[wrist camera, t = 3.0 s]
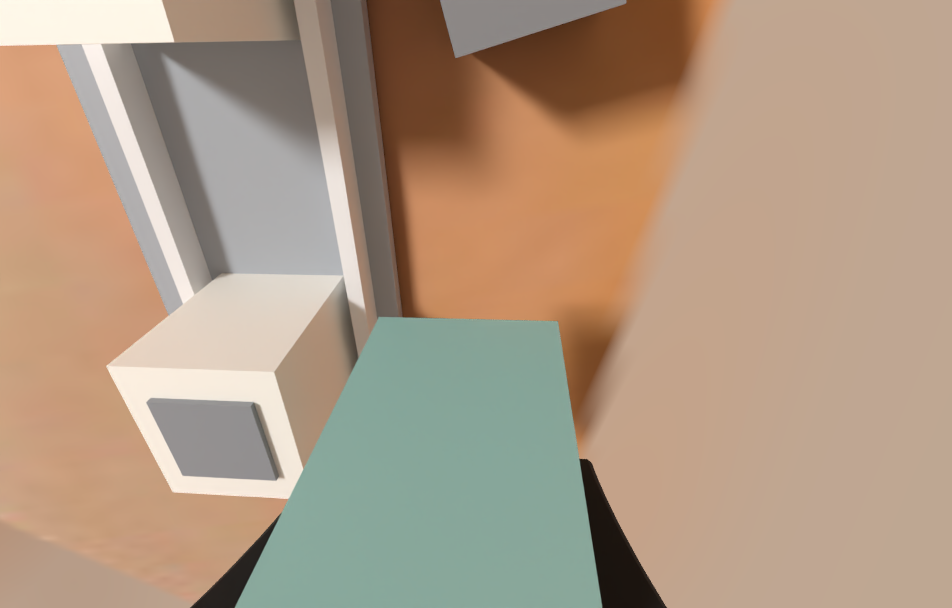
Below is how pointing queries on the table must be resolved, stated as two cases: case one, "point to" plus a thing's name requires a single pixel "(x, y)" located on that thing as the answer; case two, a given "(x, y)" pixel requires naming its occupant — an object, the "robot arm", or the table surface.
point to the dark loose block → (510, 19)
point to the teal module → (440, 480)
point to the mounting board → (236, 215)
